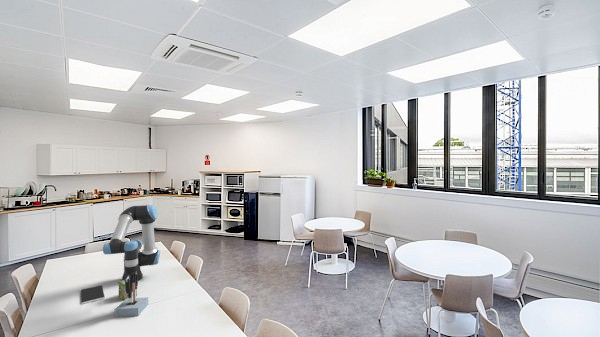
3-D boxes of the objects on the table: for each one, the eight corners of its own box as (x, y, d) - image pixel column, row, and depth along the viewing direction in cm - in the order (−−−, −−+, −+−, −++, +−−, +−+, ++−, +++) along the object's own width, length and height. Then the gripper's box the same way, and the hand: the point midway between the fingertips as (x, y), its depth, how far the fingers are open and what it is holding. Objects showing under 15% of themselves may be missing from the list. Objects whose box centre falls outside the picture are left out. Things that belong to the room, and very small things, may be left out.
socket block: (126, 305, 191) (126, 298, 191) (148, 304, 192) (148, 297, 192) (115, 317, 177) (114, 309, 177) (138, 315, 178) (138, 307, 178)
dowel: (130, 306, 186) (130, 282, 186) (136, 306, 186) (135, 282, 186) (127, 309, 182) (127, 284, 182) (133, 308, 183) (133, 284, 182)
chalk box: (118, 297, 203) (117, 277, 203) (132, 292, 210) (131, 273, 210) (123, 301, 198) (122, 280, 197) (137, 296, 205) (137, 276, 205)
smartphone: (81, 305, 193) (81, 303, 193) (80, 291, 214) (80, 289, 214) (104, 299, 201) (104, 297, 201) (102, 286, 222) (102, 284, 222)
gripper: (131, 261, 192) (132, 295, 192) (118, 270, 175) (119, 307, 176) (143, 260, 192) (143, 294, 193) (131, 269, 176) (131, 306, 177)
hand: (132, 300), depth 184 cm, fingers closed on dowel, 3 cm apart
